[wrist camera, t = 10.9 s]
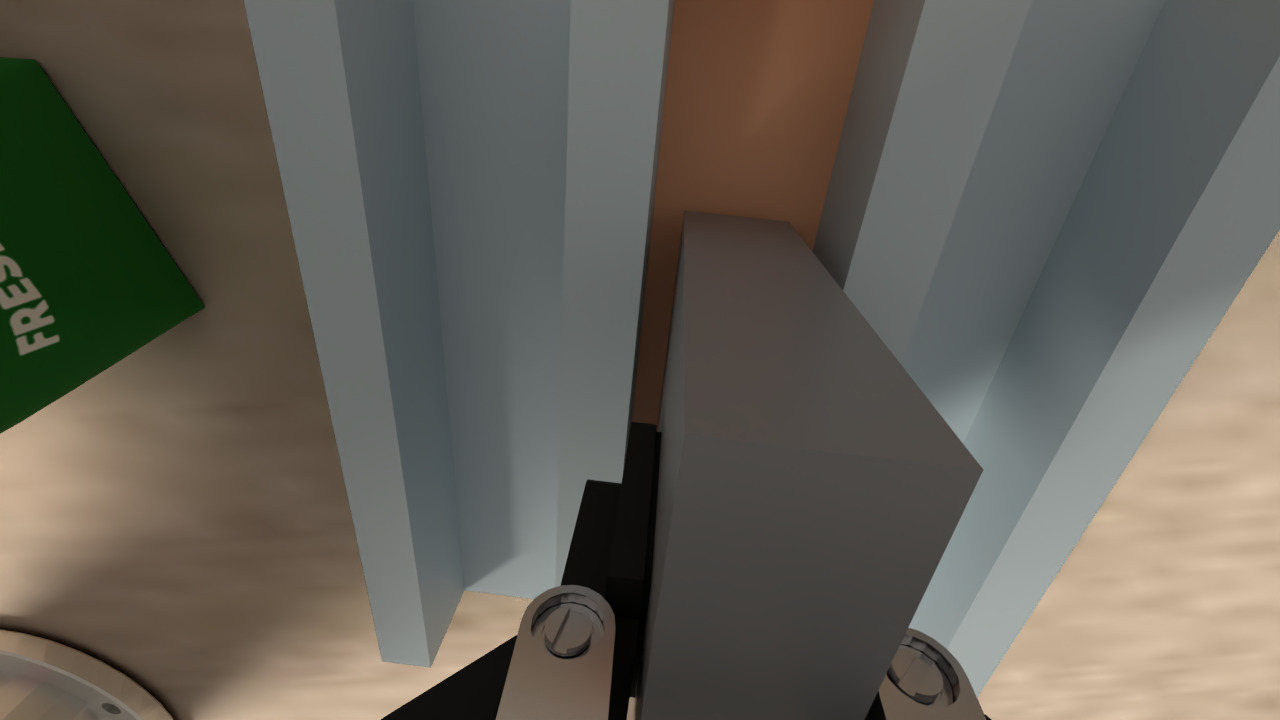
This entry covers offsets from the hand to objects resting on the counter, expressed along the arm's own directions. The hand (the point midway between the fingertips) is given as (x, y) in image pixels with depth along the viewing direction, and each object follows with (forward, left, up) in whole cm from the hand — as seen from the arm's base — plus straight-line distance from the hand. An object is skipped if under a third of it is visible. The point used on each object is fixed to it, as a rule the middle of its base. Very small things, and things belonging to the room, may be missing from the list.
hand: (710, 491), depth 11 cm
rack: (0, 0, -5) cm, 5 cm away
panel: (0, 0, -4) cm, 4 cm away
